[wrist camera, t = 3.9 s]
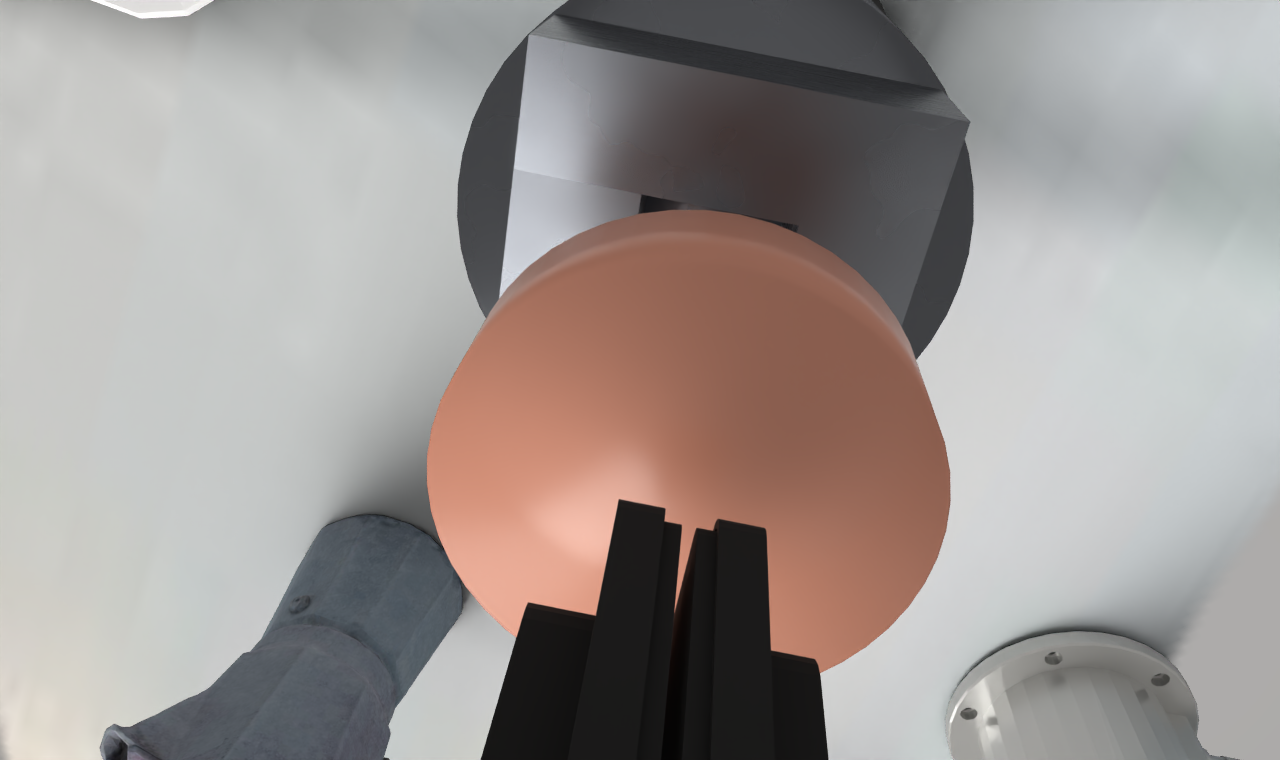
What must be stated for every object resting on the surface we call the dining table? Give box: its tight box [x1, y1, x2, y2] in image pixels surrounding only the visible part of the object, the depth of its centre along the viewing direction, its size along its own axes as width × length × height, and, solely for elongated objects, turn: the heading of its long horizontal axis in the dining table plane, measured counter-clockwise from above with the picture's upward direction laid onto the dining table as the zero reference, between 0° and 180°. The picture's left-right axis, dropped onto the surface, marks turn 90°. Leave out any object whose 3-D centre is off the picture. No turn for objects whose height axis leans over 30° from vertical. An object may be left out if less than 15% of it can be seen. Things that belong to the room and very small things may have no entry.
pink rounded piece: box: [427, 210, 950, 673], centre depth 16 cm, size 7×7×6 cm
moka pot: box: [100, 515, 463, 760], centre depth 44 cm, size 10×15×20 cm, turn 40°
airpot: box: [457, 0, 973, 359], centre depth 29 cm, size 13×19×21 cm
